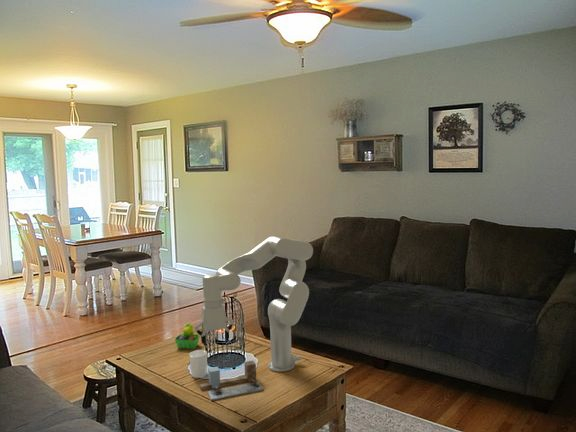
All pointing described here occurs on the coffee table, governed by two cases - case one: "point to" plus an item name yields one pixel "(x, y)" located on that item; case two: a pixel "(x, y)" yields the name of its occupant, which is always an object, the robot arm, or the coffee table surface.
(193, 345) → the fruit basket
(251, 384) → the bolt plate
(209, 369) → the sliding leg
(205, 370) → the white cup
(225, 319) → the robot arm
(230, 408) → the coffee table surface
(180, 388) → the coffee table surface
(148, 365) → the coffee table surface
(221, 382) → the beam
